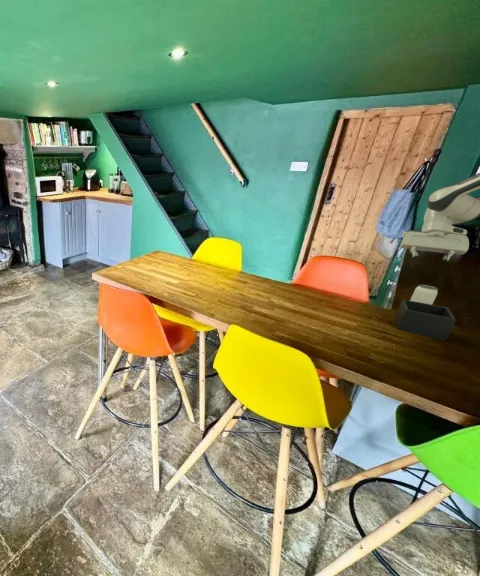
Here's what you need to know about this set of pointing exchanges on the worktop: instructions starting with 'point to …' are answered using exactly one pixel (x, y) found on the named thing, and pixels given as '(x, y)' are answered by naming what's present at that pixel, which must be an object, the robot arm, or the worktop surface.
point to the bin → (424, 319)
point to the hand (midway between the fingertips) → (430, 258)
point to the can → (424, 294)
